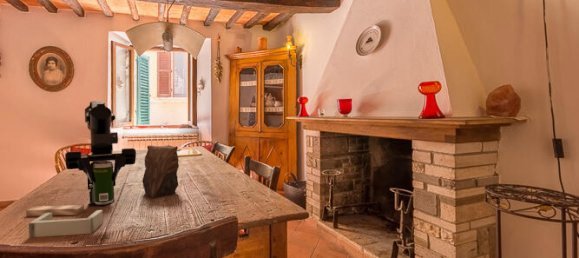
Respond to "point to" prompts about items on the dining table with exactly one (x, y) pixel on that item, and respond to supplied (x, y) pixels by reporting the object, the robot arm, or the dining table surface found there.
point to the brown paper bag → (160, 171)
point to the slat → (55, 210)
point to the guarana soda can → (103, 182)
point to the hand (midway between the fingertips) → (103, 181)
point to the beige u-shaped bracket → (64, 225)
